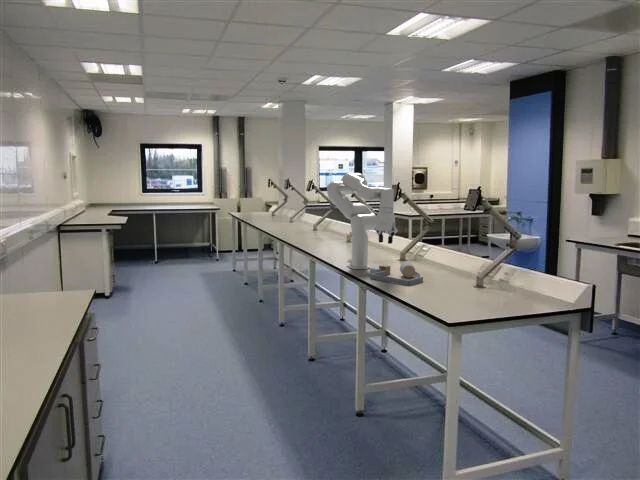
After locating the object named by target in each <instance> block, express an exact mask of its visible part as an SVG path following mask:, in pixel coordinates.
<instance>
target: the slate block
mask: <svg viewBox="0 0 640 480" xmlns="http://www.w3.org/2000/svg"><path fill="white" fill-rule="evenodd" d="M376 272H380V269H379V267H378V268H377V267H372V268H371V267H370V268H369V275H370V274H372V273H376Z"/></svg>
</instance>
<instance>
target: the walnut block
mask: <svg viewBox="0 0 640 480" xmlns="http://www.w3.org/2000/svg"><path fill="white" fill-rule="evenodd" d="M378 268H379V269H380V272H381V271H386V275H390V274H391V265H388V264H382V265H379V266H378Z"/></svg>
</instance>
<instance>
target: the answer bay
mask: <svg viewBox="0 0 640 480" xmlns="http://www.w3.org/2000/svg"><path fill="white" fill-rule="evenodd" d="M385 275H386V276H385ZM369 277H370V280H374V279H376V280H375V281H380V280H382V282H385V281H388V282H387V283H391V282H393V283H392V284H396V283H398V284H397V285H402V284H403V286H412V285H413V286H414V285H416V284H420V283H423V282H424V277H423V276H420V277H414V278H409V279H402V278H397V277H393V276H387V274H386V271H381V272H376V273H372V274H370V273H369Z"/></svg>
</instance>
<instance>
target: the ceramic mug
mask: <svg viewBox="0 0 640 480" xmlns="http://www.w3.org/2000/svg"><path fill="white" fill-rule="evenodd" d="M399 272H400V274H402V277H404V278H407V279H412V278H413V277H415V278H418V277H421V274H420V273H418V272H417V271H416V268H415V266H414V265H413V264H412V263H411V262H408V261H404V262H403V263H401V265H400V267H399Z"/></svg>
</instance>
